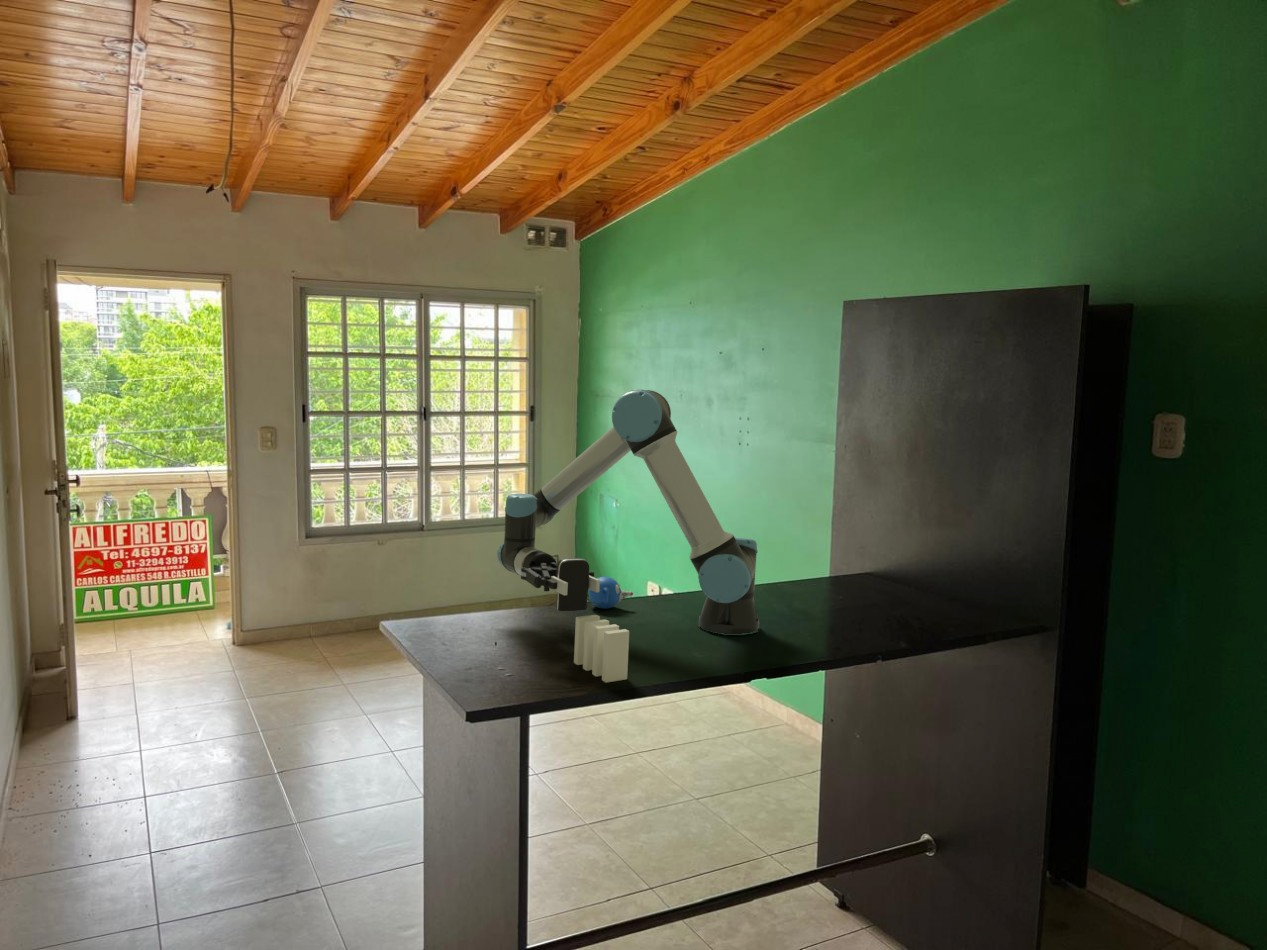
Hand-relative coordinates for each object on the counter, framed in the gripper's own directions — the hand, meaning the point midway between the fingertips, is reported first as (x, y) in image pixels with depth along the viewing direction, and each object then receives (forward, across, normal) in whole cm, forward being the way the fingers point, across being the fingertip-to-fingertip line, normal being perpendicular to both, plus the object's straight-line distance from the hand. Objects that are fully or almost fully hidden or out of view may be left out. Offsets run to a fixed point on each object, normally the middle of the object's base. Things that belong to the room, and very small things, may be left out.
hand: (582, 587), depth 188 cm
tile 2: (+7, 0, -16) cm, 17 cm away
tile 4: (+15, 0, -16) cm, 22 cm away
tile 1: (+3, 0, -16) cm, 16 cm away
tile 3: (+11, 0, -16) cm, 19 cm away
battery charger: (-5, 0, -6) cm, 8 cm away
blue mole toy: (-35, -28, -16) cm, 48 cm away
